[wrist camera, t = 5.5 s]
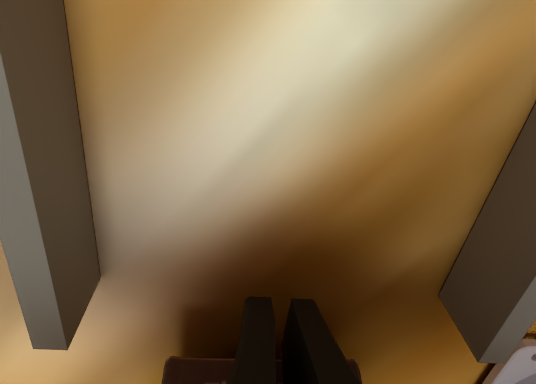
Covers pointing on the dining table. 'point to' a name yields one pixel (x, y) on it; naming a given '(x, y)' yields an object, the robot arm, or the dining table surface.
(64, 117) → the grey arch frame
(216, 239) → the dining table surface
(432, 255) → the dining table surface
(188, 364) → the box
